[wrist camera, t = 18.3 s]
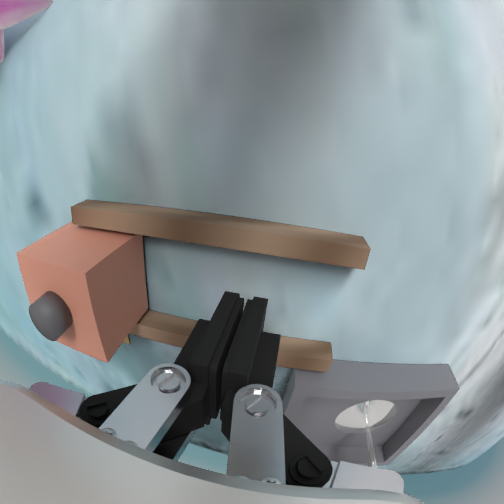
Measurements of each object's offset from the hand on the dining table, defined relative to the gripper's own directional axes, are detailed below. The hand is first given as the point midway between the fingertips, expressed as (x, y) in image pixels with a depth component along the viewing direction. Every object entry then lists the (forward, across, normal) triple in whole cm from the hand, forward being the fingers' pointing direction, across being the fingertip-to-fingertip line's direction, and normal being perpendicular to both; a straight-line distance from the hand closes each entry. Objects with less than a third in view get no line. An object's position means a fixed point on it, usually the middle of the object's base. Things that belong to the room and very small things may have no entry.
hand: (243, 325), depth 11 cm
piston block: (+3, +9, +1) cm, 9 cm away
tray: (+4, -9, +11) cm, 14 cm away
